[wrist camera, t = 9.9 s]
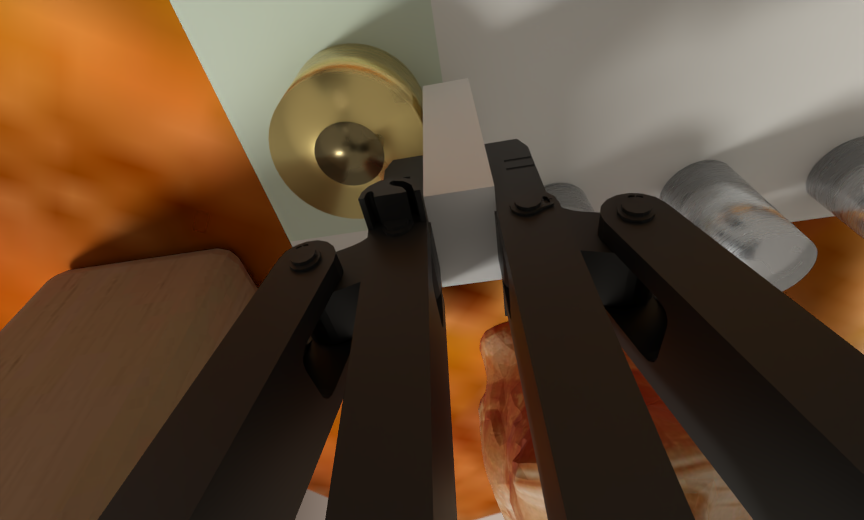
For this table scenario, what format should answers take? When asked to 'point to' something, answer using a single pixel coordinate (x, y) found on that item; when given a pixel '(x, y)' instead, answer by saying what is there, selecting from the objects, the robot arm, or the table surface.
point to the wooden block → (104, 374)
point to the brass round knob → (345, 125)
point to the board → (570, 84)
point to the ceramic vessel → (515, 456)
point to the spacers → (756, 210)
